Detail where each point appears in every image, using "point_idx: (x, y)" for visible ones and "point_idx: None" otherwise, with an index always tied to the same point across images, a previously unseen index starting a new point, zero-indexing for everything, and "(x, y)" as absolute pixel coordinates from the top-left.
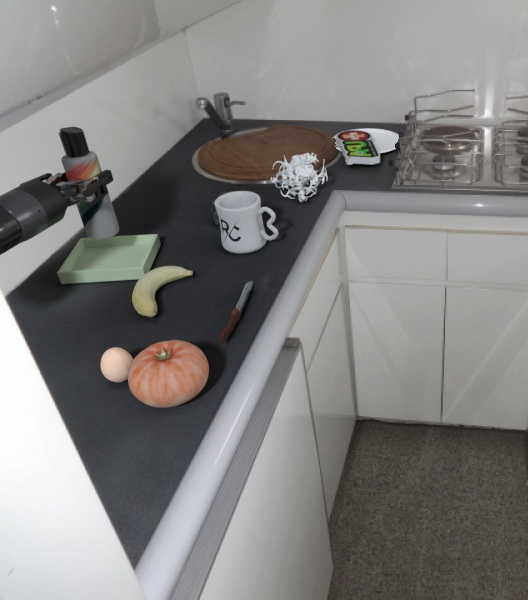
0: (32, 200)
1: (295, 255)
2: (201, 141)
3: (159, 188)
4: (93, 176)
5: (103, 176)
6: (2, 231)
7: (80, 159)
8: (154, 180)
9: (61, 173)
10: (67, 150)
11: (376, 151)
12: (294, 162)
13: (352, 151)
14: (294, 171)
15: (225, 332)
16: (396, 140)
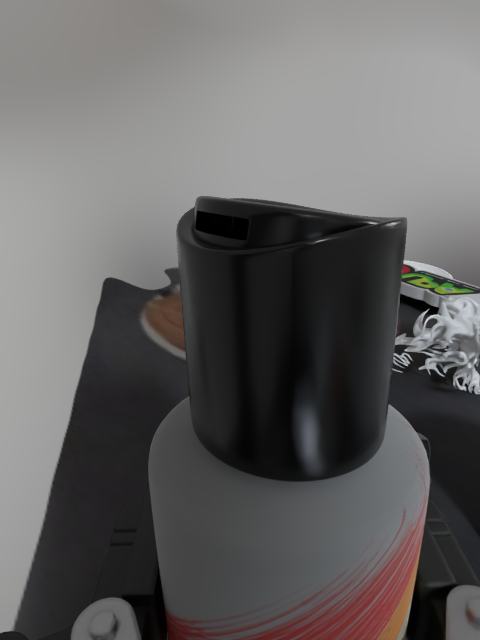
0: None
1: None
2: (133, 304)
3: (138, 410)
4: (424, 584)
5: (442, 547)
6: None
7: (392, 483)
8: (110, 391)
9: (121, 610)
10: (296, 422)
11: (465, 284)
12: (462, 314)
13: (433, 288)
14: (477, 332)
15: None
16: (426, 270)
